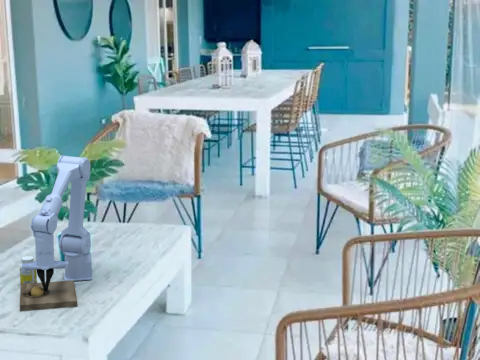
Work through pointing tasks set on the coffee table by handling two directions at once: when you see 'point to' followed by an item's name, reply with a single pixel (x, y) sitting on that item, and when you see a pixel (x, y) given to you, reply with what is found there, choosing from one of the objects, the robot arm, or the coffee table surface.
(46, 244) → the robot arm
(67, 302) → the wooden board with hole
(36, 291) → the ball
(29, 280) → the supplement bottle
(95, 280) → the coffee table surface
